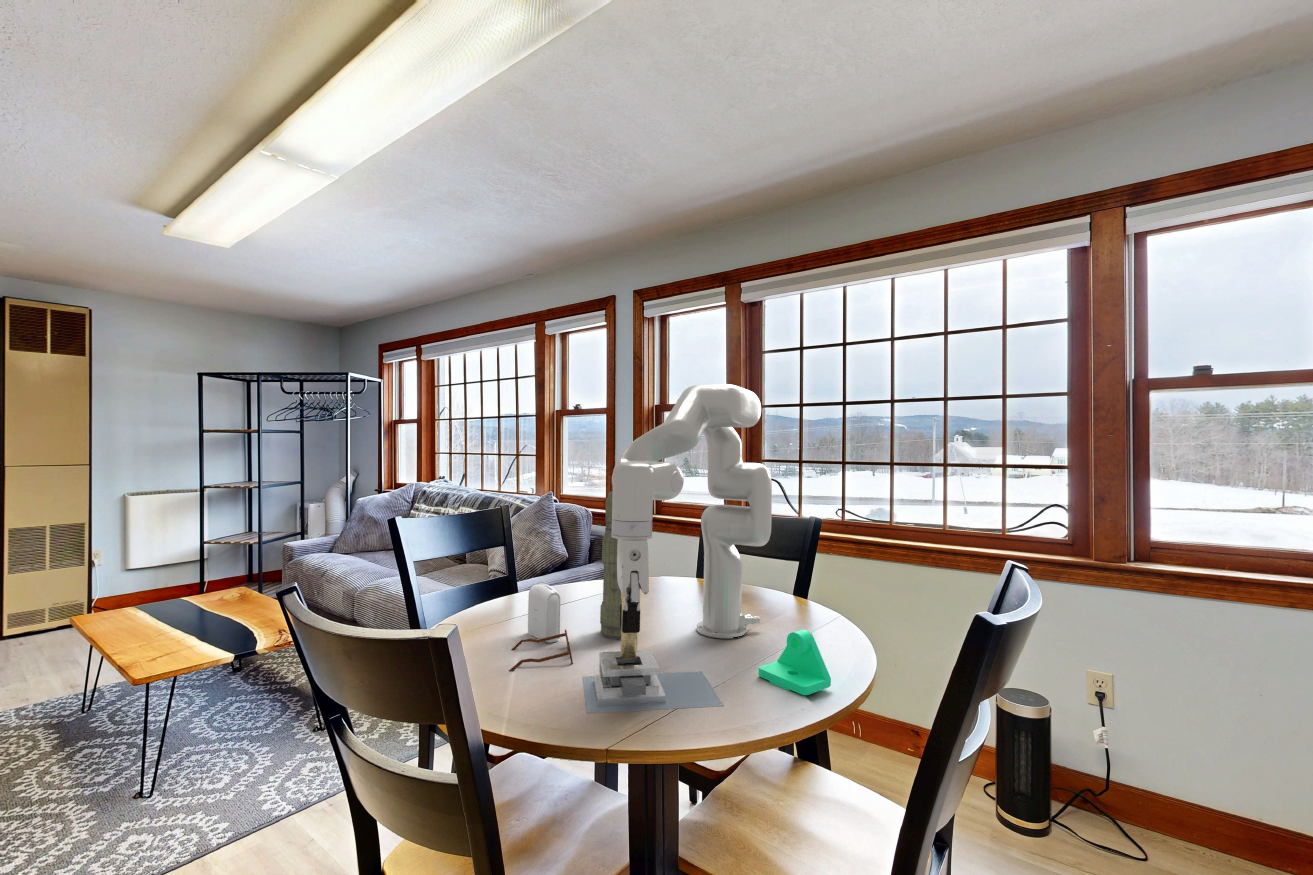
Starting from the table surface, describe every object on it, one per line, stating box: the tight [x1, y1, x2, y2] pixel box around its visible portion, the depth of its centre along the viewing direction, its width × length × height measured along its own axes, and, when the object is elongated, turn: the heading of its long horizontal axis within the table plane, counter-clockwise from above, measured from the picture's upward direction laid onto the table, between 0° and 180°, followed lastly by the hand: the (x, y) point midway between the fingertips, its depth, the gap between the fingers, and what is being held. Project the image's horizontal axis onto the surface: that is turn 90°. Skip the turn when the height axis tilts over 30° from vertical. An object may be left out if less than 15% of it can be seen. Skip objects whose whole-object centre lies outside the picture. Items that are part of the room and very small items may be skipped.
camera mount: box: [758, 629, 832, 696], centre depth 114 cm, size 12×8×10 cm, turn 37°
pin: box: [620, 587, 639, 660], centre depth 108 cm, size 4×4×15 cm
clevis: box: [593, 649, 666, 706], centre depth 107 cm, size 12×14×6 cm
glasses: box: [508, 629, 574, 672], centre depth 126 cm, size 13×13×5 cm
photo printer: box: [527, 583, 561, 644], centre depth 140 cm, size 10×4×12 cm, turn 39°
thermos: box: [599, 489, 622, 640], centre depth 144 cm, size 9×12×35 cm
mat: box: [582, 671, 725, 714], centre depth 109 cm, size 24×16×1 cm, turn 100°
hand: (629, 628), depth 108 cm, fingers closed on pin, 3 cm apart
